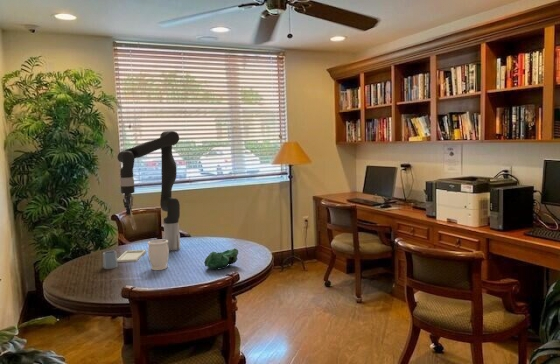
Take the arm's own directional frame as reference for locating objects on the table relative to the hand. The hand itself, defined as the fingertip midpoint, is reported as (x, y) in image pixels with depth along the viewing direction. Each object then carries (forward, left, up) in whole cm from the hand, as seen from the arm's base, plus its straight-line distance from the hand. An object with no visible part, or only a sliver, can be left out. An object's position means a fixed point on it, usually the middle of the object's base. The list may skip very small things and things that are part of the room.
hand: (129, 214), depth 252 cm
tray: (0, 0, -26) cm, 26 cm away
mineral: (-55, +28, -27) cm, 67 cm away
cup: (+6, +20, -26) cm, 34 cm away
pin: (-1, 0, -10) cm, 10 cm away
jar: (-21, +24, -27) cm, 42 cm away
